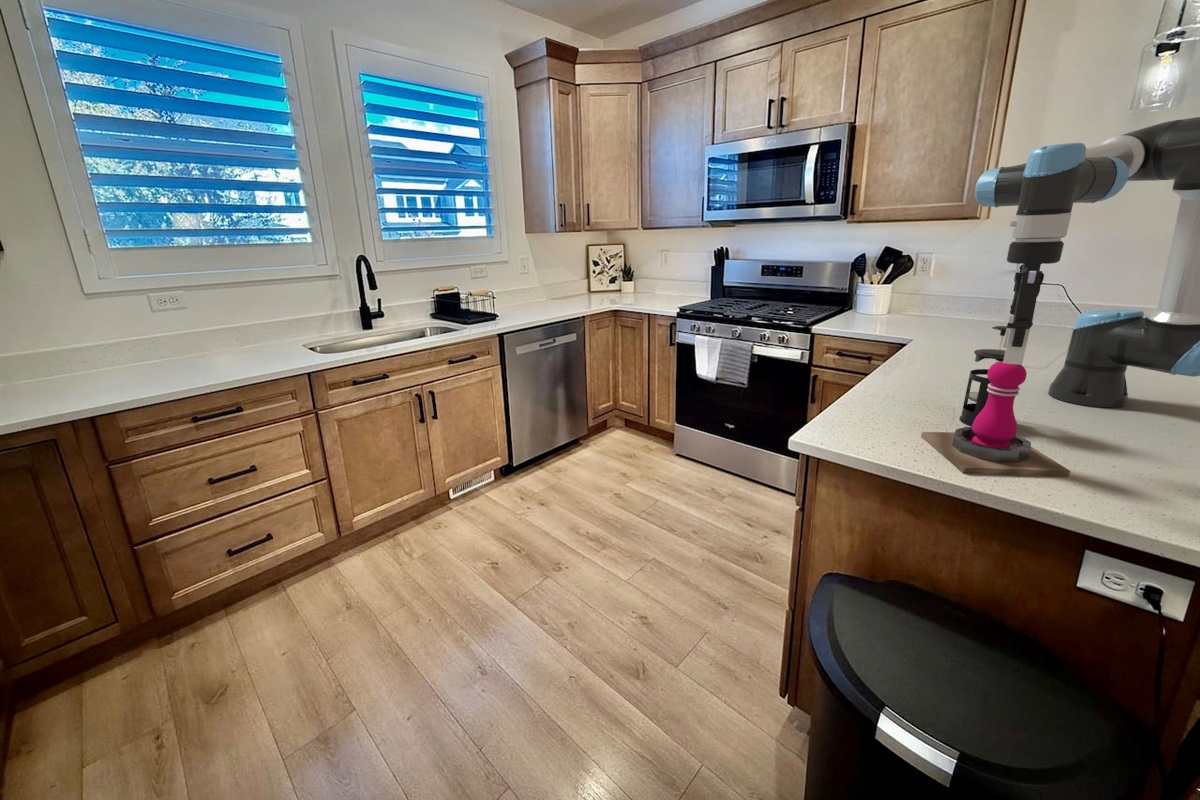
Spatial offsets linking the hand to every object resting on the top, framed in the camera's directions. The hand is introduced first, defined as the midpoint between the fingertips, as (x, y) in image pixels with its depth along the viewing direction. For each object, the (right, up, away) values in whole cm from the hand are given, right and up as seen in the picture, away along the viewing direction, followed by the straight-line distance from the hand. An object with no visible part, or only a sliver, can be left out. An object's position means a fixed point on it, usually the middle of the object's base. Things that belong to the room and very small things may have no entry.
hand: (1011, 355), depth 98 cm
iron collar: (0, -19, +6) cm, 20 cm away
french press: (+12, -14, +23) cm, 30 cm away
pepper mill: (0, -19, +6) cm, 20 cm away
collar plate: (0, -20, +7) cm, 21 cm away
